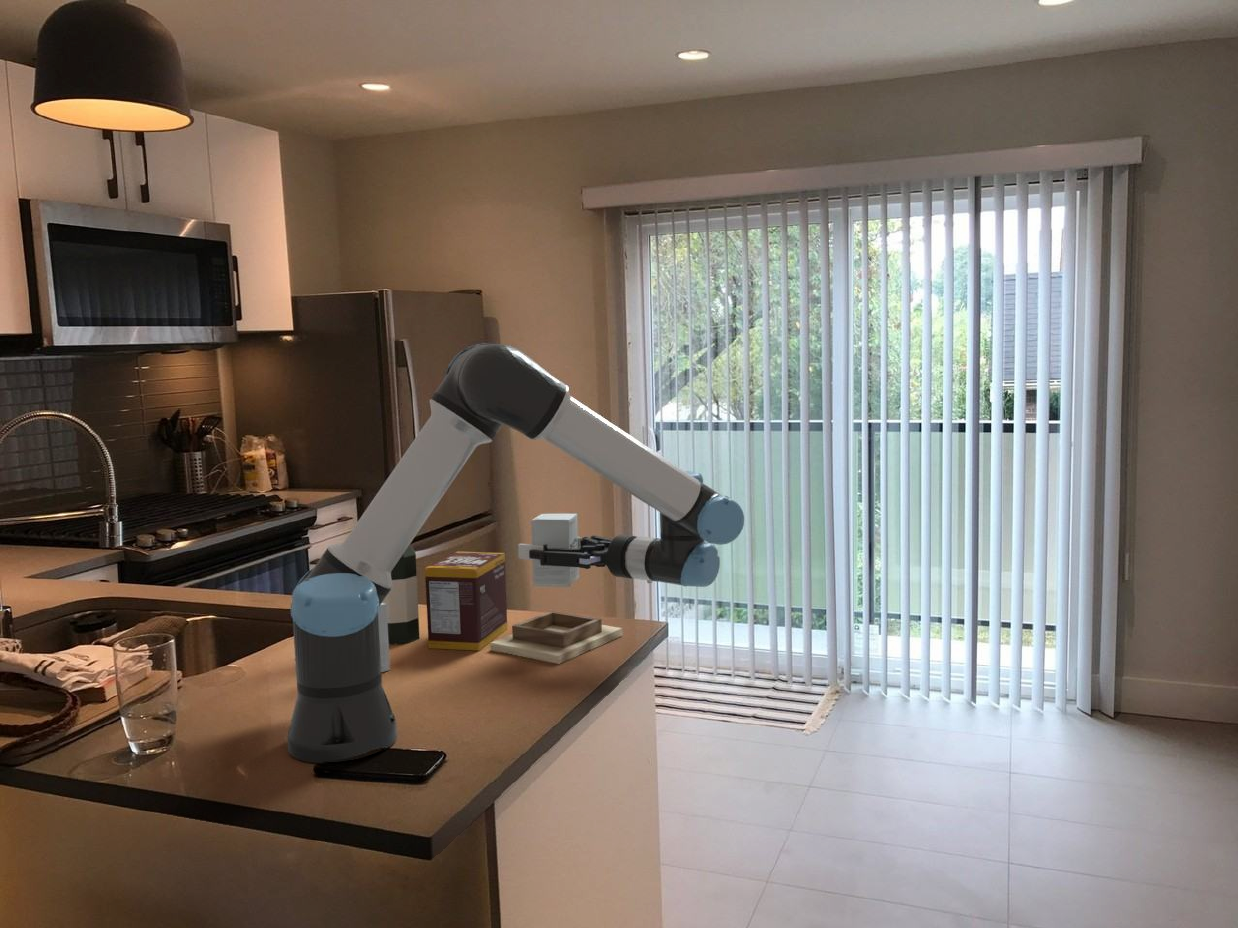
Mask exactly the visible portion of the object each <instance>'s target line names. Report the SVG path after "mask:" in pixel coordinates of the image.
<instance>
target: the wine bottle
mask: <svg viewBox="0 0 1238 928" xmlns="http://www.w3.org/2000/svg"><path fill="white" fill-rule="evenodd" d="M416 556H417V555H416V551H415V549H414V548H413V546H412V545H411V544H410V545H409V546H408V548H407V549H406V550H405V552H404V553H403V555H402V556H401V558H400V559H399V561H398V562H397V564H396V565H395V567H394V568H393V570H392V571H391V579H392V585H393V587H392V588H391V590H390V591H389V593H388V594H387V596H386V597H385V599H384V600H383V602H382V603H385V604H386V605H387V624H388V642H389V646H392V645H401V644H410V643H412V642H415V641H417V640H420V619H419V618H420V617H419V616H420V615H419V599H418V579H417V577H418V576H417V559H416V558H417V557H416Z"/></svg>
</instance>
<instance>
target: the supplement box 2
mask: <svg viewBox="0 0 1238 928" xmlns="http://www.w3.org/2000/svg"><path fill="white" fill-rule="evenodd" d="M530 525H531V529H530V530H531V531H530V532H531V545H538V546H543V545H546V544H547V547H548V549H550V548H578V537H579V530H578V529H579V527H578V513H541V514H539V515H538V516H536V517H534V518H533V519H531V520H530ZM531 561H532V562H531V563H532V586H533V587H546V588H548V587H551V588H552V587H553V588H559V587H560V588H570V587H572V585H573V584H574V583H575V582H576V581H577V580H578V579H580V568H579V567H564V566H546V565H545V566H542V565H540V561H534V560H531Z"/></svg>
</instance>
